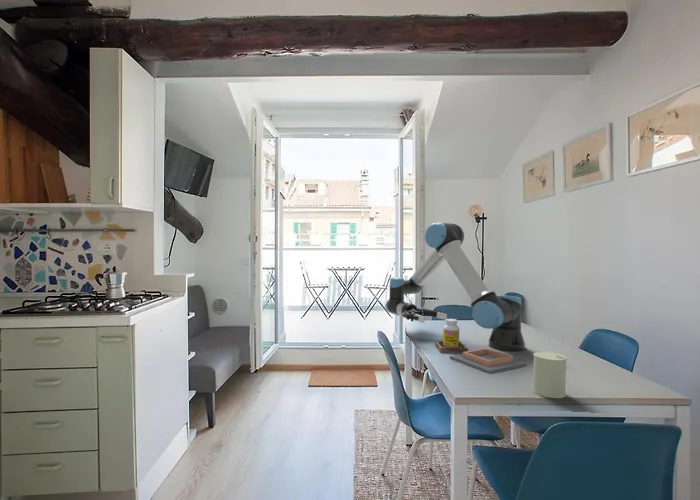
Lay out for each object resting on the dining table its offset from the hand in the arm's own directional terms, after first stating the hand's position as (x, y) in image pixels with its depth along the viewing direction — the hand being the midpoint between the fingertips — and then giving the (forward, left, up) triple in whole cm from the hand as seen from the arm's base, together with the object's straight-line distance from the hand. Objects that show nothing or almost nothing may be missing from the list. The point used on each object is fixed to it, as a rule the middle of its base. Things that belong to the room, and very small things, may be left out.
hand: (435, 318), depth 177 cm
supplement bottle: (-9, +4, -12) cm, 16 cm away
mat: (-27, +13, -12) cm, 32 cm away
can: (-52, +32, -12) cm, 63 cm away
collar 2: (-27, +13, -12) cm, 32 cm away
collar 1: (-9, +4, -12) cm, 15 cm away
